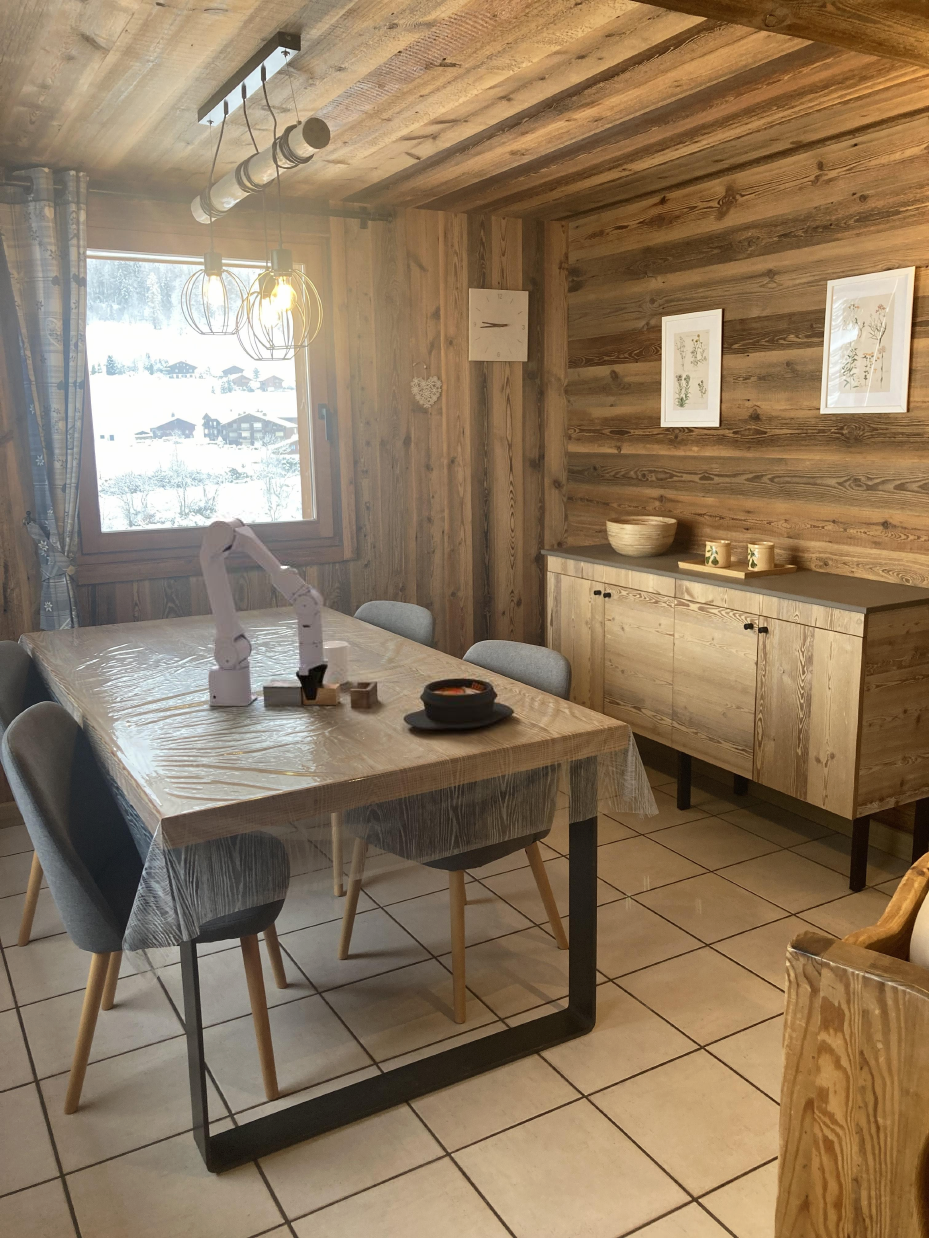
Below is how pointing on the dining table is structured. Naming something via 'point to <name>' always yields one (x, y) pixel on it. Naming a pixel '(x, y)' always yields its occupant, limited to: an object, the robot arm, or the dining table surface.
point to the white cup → (336, 662)
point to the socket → (364, 695)
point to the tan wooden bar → (324, 695)
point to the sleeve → (283, 693)
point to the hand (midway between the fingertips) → (313, 697)
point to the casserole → (458, 705)
